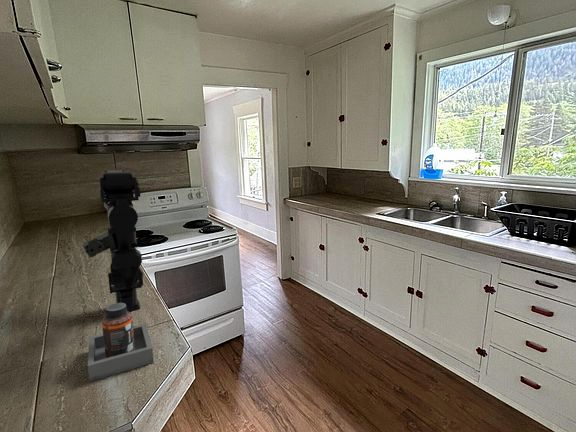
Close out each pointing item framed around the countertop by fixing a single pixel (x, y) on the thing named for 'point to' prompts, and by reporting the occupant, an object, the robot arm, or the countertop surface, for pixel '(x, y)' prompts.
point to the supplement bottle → (118, 330)
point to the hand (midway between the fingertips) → (127, 282)
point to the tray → (109, 366)
